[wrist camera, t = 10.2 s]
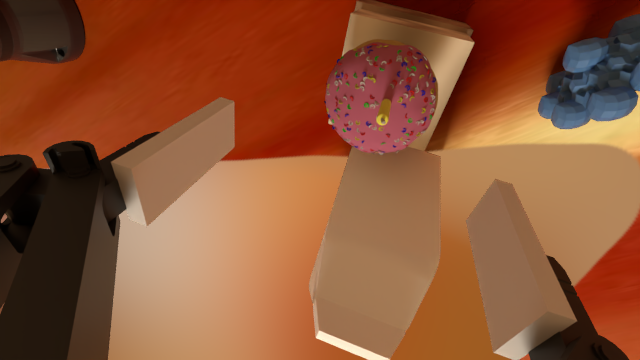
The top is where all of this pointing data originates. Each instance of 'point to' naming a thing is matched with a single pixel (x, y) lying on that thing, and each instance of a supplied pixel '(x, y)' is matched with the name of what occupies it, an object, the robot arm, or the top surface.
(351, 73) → the cupcake
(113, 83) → the top surface
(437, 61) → the block top
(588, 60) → the grapes
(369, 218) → the milk
